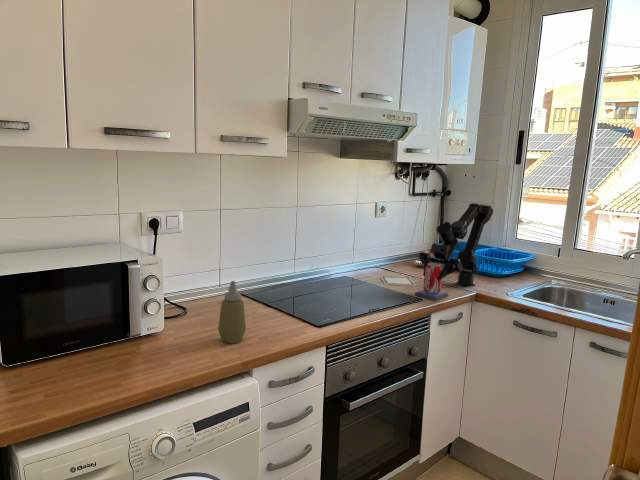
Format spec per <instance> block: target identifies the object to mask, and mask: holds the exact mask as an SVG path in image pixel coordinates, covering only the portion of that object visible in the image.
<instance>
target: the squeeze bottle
mask: <svg viewBox="0 0 640 480" xmlns="http://www.w3.org/2000/svg"><path fill="white" fill-rule="evenodd" d="M241 293H242V292H239V291H238V289H237V284H236V280H231V281H230V285H229V289H228V291H227V292H225V293H224V299H223V300H222V301H221V303H220V310H219V311H220V312H219V321H218V330H217V331H218V333H219V336H220V339H221V342H223V343H225V344H237V343H240V342H242V341H243V338H244V336H245V333H246V330H247V329H246V327H247V326H246V315H245V314H246V313H245V302H244V300H242V297H241V295H242V294H241Z"/></svg>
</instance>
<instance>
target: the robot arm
mask: <svg viewBox="0 0 640 480" xmlns="http://www.w3.org/2000/svg"><path fill="white" fill-rule="evenodd" d="M493 214H494V209H493V208H492V206H491V205H487V204H480V203H478V202H477V203H474V202H472V203H469V205H468V208H467V209H466V210H465V211H464V213H463V214H462V215H461V216H460V218H459V219H458V220H456V221H454V222H452V223H450V222H449V221H444V223H441V224H439V226H437V227H436V232H437V234H438V236H439V239H440V240H441V242H442V244H439V243H432V244H431V247H430V250H429V251H432V252H434V253H433V255H434V256H435V258H434V257H431V256H430V254H429V253H425V252H423V251H421V252H419V254H418V255H417V257H418V259H419V261H420V263H421V264H424V266H423V267H424V268H423V272H422V273H423V277H424V276H425V268H426V266H427V263H432V262H435V263H439V264H443V265H445V266H444V269H443V270H442V272H441V274H440V276H439V278H438V279H439V280H441V279H442V280H443V279H444V278H446V277H447V276H448V275H451V274H452V273H459V274H458V279H457V281H456V282H455V284H456V285H459V286H462V287H474V286H476V284H475V283H474V279H475V278H474V276H475V275H478V274H479V266H478V264H477V260H478V259H477V256H476V251H477V249H478V245H479V241H480V239H481V235H482V234H483V233H482V232H483V231H484V226H485V225H486V224H487V223H489V221H490V220H491V218H492V216H493ZM471 223H472V226H471V229H470V232H469V235H468V237H467V242H466V244H465V247H464V249H463V250H460V251H458V254H457V257H456V258H454V252H455V250H456V248H459V247H460V245H459V241H458V240H464V238H466V236H467V233H468V227H469V226H470V225H471Z"/></svg>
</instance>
